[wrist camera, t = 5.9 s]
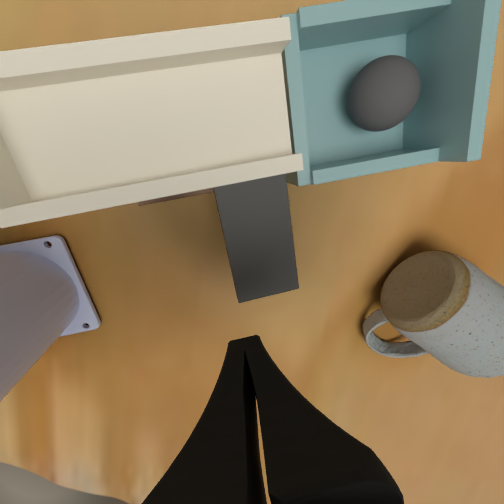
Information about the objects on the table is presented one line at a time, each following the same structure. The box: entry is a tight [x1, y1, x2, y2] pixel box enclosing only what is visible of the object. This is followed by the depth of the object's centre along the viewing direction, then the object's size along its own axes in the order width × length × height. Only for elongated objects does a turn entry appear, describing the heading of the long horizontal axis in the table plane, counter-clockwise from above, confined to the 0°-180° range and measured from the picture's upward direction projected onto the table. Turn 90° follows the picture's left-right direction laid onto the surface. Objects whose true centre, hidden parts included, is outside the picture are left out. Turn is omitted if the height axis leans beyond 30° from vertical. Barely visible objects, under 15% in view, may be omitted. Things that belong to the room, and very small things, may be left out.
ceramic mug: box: [363, 250, 504, 378], centre depth 21 cm, size 11×8×8 cm
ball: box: [347, 55, 421, 132], centre depth 16 cm, size 4×4×4 cm
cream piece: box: [0, 17, 304, 303], centre depth 13 cm, size 14×14×4 cm
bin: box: [280, 0, 501, 186], centre depth 16 cm, size 10×9×6 cm
